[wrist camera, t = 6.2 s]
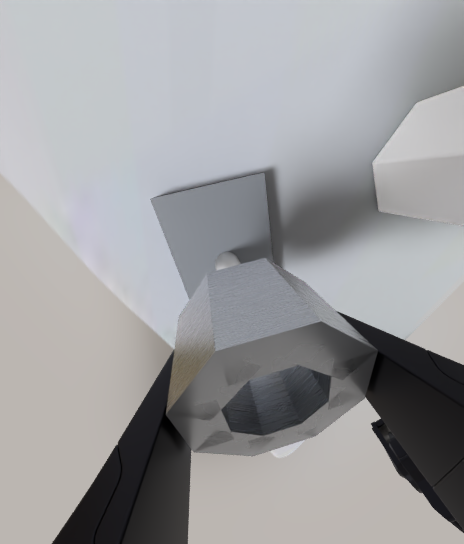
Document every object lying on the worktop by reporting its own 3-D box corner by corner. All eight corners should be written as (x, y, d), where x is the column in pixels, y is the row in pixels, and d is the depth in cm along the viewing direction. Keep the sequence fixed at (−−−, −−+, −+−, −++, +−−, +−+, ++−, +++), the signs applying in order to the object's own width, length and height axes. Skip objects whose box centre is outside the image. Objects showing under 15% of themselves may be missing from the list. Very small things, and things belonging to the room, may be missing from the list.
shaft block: (272, 297, 20) (303, 345, 14) (200, 317, 19) (201, 375, 13) (258, 173, 14) (300, 168, 8) (154, 197, 13) (123, 209, 8)
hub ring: (305, 343, 11) (358, 422, 7) (204, 373, 10) (207, 470, 7) (304, 247, 8) (391, 300, 4) (164, 283, 8) (135, 373, 4)
